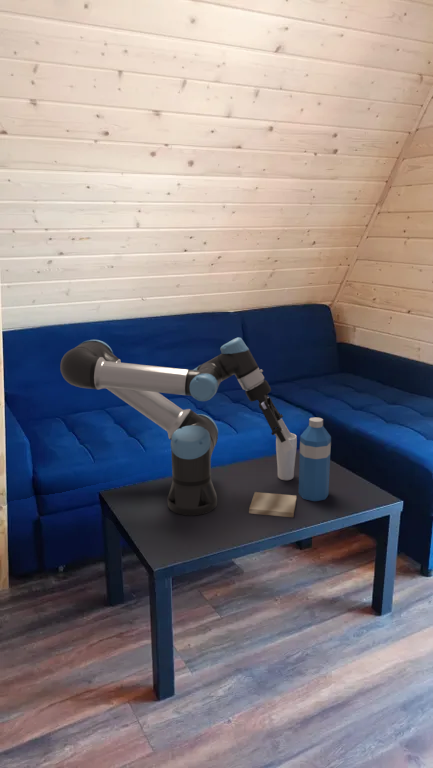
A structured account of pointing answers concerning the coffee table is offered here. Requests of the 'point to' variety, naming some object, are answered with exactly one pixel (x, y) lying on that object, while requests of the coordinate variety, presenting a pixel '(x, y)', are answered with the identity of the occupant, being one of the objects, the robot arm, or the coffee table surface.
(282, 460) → the drinking glass
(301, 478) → the water bottle
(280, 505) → the birch board
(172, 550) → the coffee table surface
